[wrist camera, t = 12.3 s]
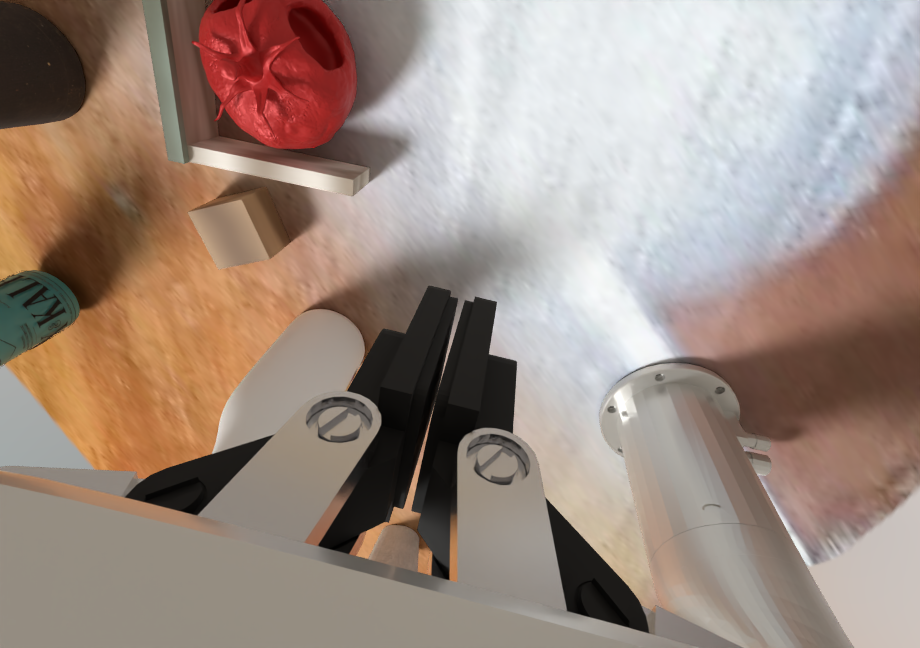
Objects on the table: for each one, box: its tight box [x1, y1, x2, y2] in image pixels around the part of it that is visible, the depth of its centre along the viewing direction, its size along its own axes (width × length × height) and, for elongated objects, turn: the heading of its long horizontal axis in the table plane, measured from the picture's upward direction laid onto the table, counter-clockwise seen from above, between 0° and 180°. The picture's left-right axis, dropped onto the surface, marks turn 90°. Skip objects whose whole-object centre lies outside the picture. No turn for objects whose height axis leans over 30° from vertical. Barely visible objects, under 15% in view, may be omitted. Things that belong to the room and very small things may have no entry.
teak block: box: [188, 187, 290, 269], centre depth 38 cm, size 5×5×4 cm
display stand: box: [142, 0, 370, 196], centre depth 31 cm, size 14×17×5 cm
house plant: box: [368, 525, 419, 572], centre depth 54 cm, size 14×14×16 cm
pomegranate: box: [192, 0, 357, 149], centre depth 29 cm, size 10×10×9 cm
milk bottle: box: [212, 309, 365, 454], centre depth 37 cm, size 8×8×20 cm
